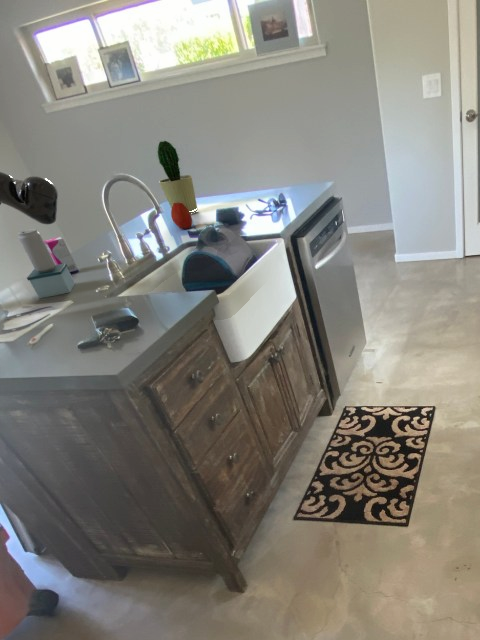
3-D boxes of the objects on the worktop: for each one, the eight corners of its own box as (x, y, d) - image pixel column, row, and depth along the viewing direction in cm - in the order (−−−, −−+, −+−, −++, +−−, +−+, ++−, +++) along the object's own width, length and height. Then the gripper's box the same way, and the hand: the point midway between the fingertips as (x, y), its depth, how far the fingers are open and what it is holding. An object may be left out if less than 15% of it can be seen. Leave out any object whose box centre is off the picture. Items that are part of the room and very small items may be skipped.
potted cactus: (172, 219, 247) (146, 143, 227) (169, 214, 258) (144, 141, 238) (204, 212, 250) (181, 137, 230) (199, 207, 261) (177, 135, 241)
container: (38, 299, 173) (26, 277, 169) (45, 289, 181) (34, 269, 177) (70, 292, 175) (60, 271, 170) (76, 283, 182) (66, 262, 178)
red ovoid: (172, 231, 228) (162, 203, 221) (184, 225, 233) (175, 198, 226) (186, 231, 225) (176, 203, 218) (198, 225, 230) (189, 198, 223)
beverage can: (38, 269, 175) (17, 231, 167) (58, 265, 176) (38, 227, 168) (35, 274, 170) (14, 235, 162) (56, 270, 172) (35, 230, 164)
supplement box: (75, 268, 198) (59, 236, 190) (79, 271, 194) (63, 238, 186) (59, 273, 195) (43, 240, 188) (63, 276, 192) (46, 242, 184)
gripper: (43, 174, 145) (28, 172, 154) (-11, 186, 138) (-23, 183, 148) (57, 205, 150) (42, 200, 159) (6, 217, 143) (-7, 212, 153)
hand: (11, 192), depth 154 cm, fingers open, 8 cm apart
